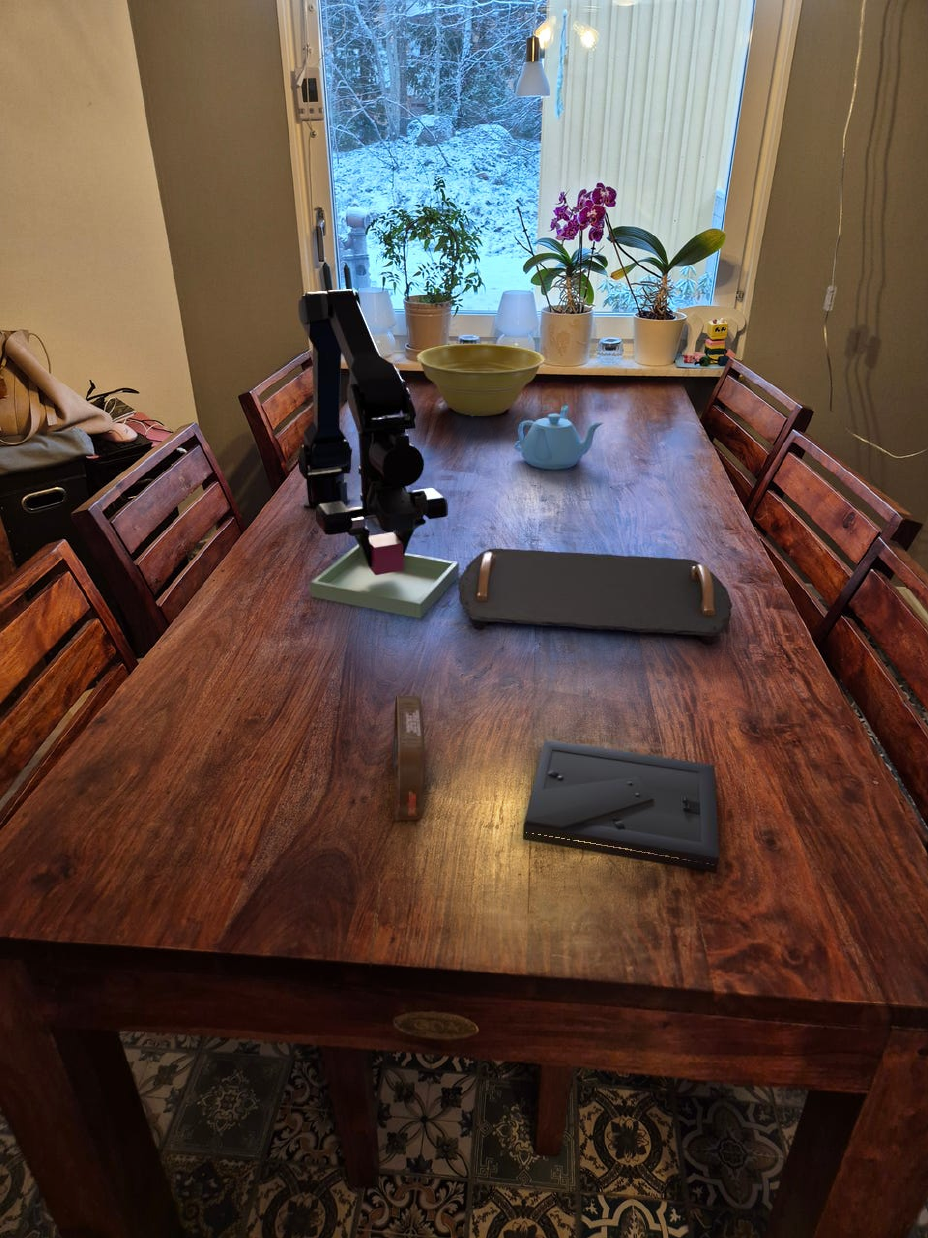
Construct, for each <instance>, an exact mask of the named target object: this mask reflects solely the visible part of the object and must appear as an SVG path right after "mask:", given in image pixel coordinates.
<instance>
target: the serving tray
mask: <svg viewBox="0 0 928 1238" xmlns="http://www.w3.org/2000/svg"><path fill="white" fill-rule="evenodd" d="M465 567H466V568H465V570H464V571H463V572H462V574H461V575H460V577H459V580H458V587H457V588H458V592H459V601H460V604H461V605H462V606H463V609H464V610H465V613H466V614H467V615H468V616H469V617H470V618H471V619H472V620H471V622H472V625H473V627H474V629H475V630H477V631H482V630H484V629H486V626H487V625H488V622H491V623H507V624H520V625H521V624H522V625H533V626H544V627H547V626H548V627H553V626H555V627H573V628H577V629H589V630H590V629H591V630H609V631H610V630H611V631H625V632H636V633H663V634H675V635H687V636H688V635H690V636H700V640H701V642H702V644H703V645H704V646H705V645H706V646H712V645H713V644H714V643H715V642H716V641H717V640H718V636H721V635H722V634H723V633H724V631H725V629H726V626H727V625H728V623H729V622H730V621H731V616H732V612H731V610H732V607H733V602H732V600H731V598H730V594H729V592H728V589H727V588H726V587H725V585H724V584H723V582H722V581H721V580H720V579H719V578H718V577H717V576H716V575H715V574H714V573H713V572H712V571H711V570H709V568H708V566H707V565H706V564H703V563H701V562H699V561H696V560H694V559H688V558H671V557H654V556H653V557H652V556H639V555H619V554H618V555H617V554H603V553H600V554H599V553H583V552H567V551H547V550H529V549H514V548H489V549H486V550H484V551H482V552H481V553H479V554H478V555H477V556H475V558H473V559H472V560H470V562H469V563H468V564H467V566H465Z"/></svg>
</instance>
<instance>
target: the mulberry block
mask: <svg viewBox="0 0 928 1238" xmlns="http://www.w3.org/2000/svg"><path fill="white" fill-rule="evenodd" d="M369 542H370V549H371V556H372V567H370V569H371V570H372V571H373V573H374V574H375V575H380V574H386V573H391V572H397V571H402V570H404V559H403V543H402V541H401V540H400V539H399V538H398V537H397V536H396V533H394V531H393V532H384V533H378V534H373V535H369Z"/></svg>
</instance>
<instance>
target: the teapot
mask: <svg viewBox="0 0 928 1238" xmlns="http://www.w3.org/2000/svg"><path fill="white" fill-rule="evenodd" d="M568 410H569V405H568V404H563V405H562V407H561V408H560V414H559V413H549V414H547V417H542V418H539V419H537V420H535V422H534V421H533V420H529V419H528V420H523V421H521V422H520V423H519V425H518V427H517V433H518V439H519V440H517V441H516V442H515V443H514V449H515V450H516V451H517V452H520V454H521V456H522V458H523V459H524V461H525V462H526V463H527V464H528V465H530V466H532V467H534V468H539V469H544V470H564V469H570V468H572V467H574V466H575V465H576V464H578V463H579V461H581V459H582V458H583V456H584V455H586V453H587V452H589V450H590V449H591V448H592V445H593V440H594V435H595V432H596V430H598V429H597V428H598V427H600V426H602V425H603V424H604V422H595V423H592V424H590V426H589V427H588V429H587V432H586V436H585V438H584V440H582V439H581V436H580V434H579V433H578V430H577V429H576V427H575V426H574V425H575V424H573V422H572V421H570V420H568ZM525 425H527V426H531V427H530V428H529V430H528V431H527V432H526V435H525V437H524V430H523V428H524V426H525ZM519 444H520V445H519Z"/></svg>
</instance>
